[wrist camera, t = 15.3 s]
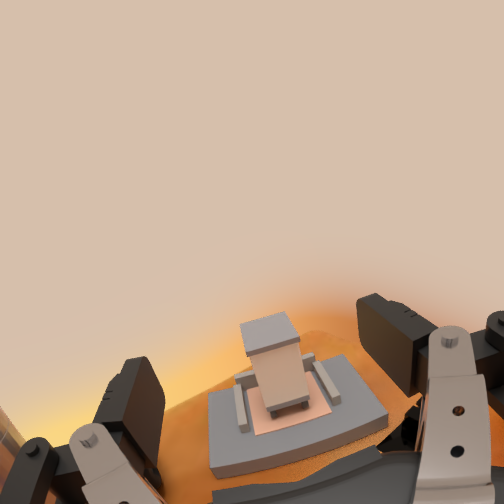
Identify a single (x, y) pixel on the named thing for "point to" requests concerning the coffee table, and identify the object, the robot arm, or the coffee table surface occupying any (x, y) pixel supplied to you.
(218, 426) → the dock
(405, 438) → the black notched block
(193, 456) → the coffee table surface
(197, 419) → the coffee table surface
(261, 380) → the box with lid
